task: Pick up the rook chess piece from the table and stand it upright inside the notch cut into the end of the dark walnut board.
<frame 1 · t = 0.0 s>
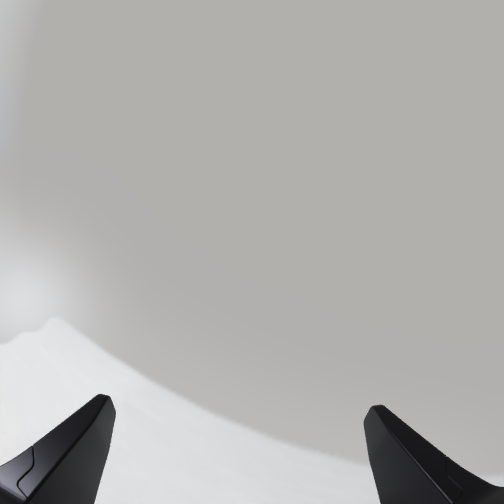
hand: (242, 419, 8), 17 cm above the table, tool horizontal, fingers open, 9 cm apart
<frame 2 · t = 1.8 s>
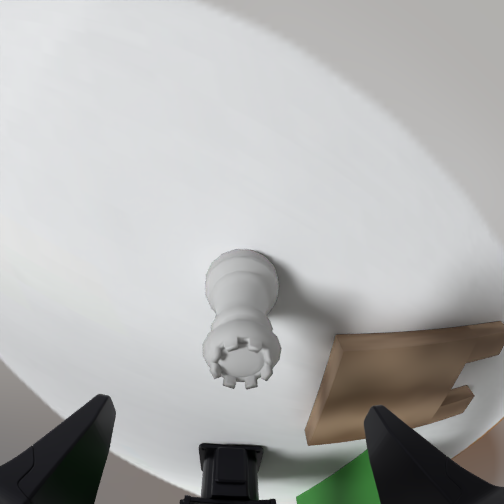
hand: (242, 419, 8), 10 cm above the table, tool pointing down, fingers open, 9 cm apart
rook chess piece: (241, 278, 18), on the table
hardback book: (352, 473, 29), on the table
notched board: (414, 380, 22), on the table
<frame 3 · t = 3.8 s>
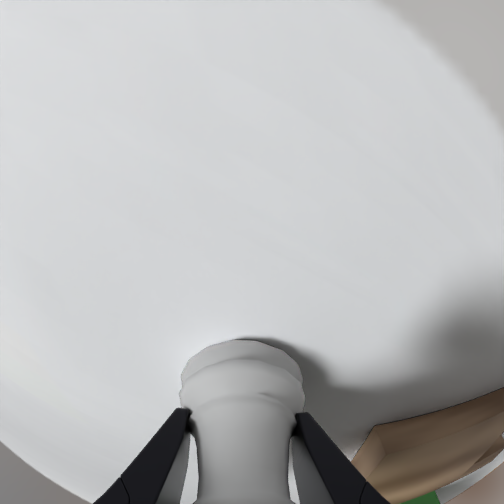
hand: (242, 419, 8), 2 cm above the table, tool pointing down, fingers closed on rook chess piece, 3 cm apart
rook chess piece: (241, 374, 10), on the table, touching gripper
notched board: (452, 444, 14), on the table
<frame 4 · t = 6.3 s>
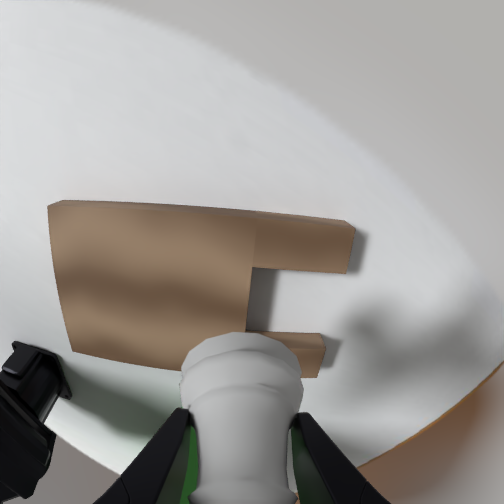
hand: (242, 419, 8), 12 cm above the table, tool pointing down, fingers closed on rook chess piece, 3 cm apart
rook chess piece: (241, 367, 11), point 10 cm above the table, touching gripper
hardback book: (195, 442, 27), on the table
notched board: (190, 290, 20), on the table
when the fingers open (3 cm above the table, at t = 8.9 s): rook chess piece drops 1 cm, on the table.
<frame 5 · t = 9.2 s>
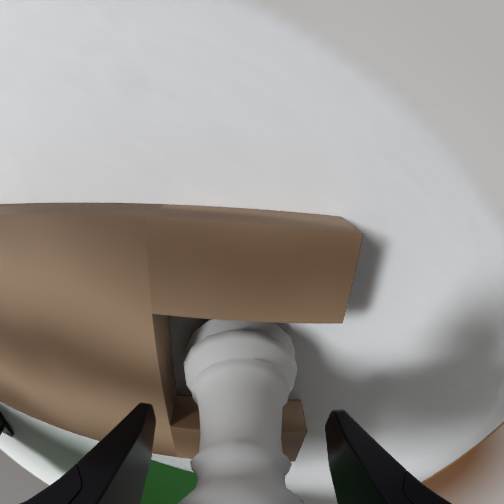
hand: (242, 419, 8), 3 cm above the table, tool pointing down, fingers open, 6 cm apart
rook chess piece: (240, 349, 12), on the table
hardback book: (155, 495, 18), on the table
notched board: (88, 336, 11), on the table
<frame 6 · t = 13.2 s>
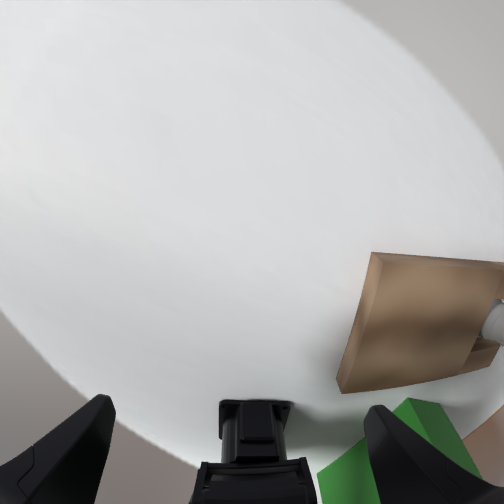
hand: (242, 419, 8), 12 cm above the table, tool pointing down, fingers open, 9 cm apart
rook chess piece: (485, 313, 23), on the table
hardback book: (377, 443, 29), on the table
notched board: (445, 319, 22), on the table
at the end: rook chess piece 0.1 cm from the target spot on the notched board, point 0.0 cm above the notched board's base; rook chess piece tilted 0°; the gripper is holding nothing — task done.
